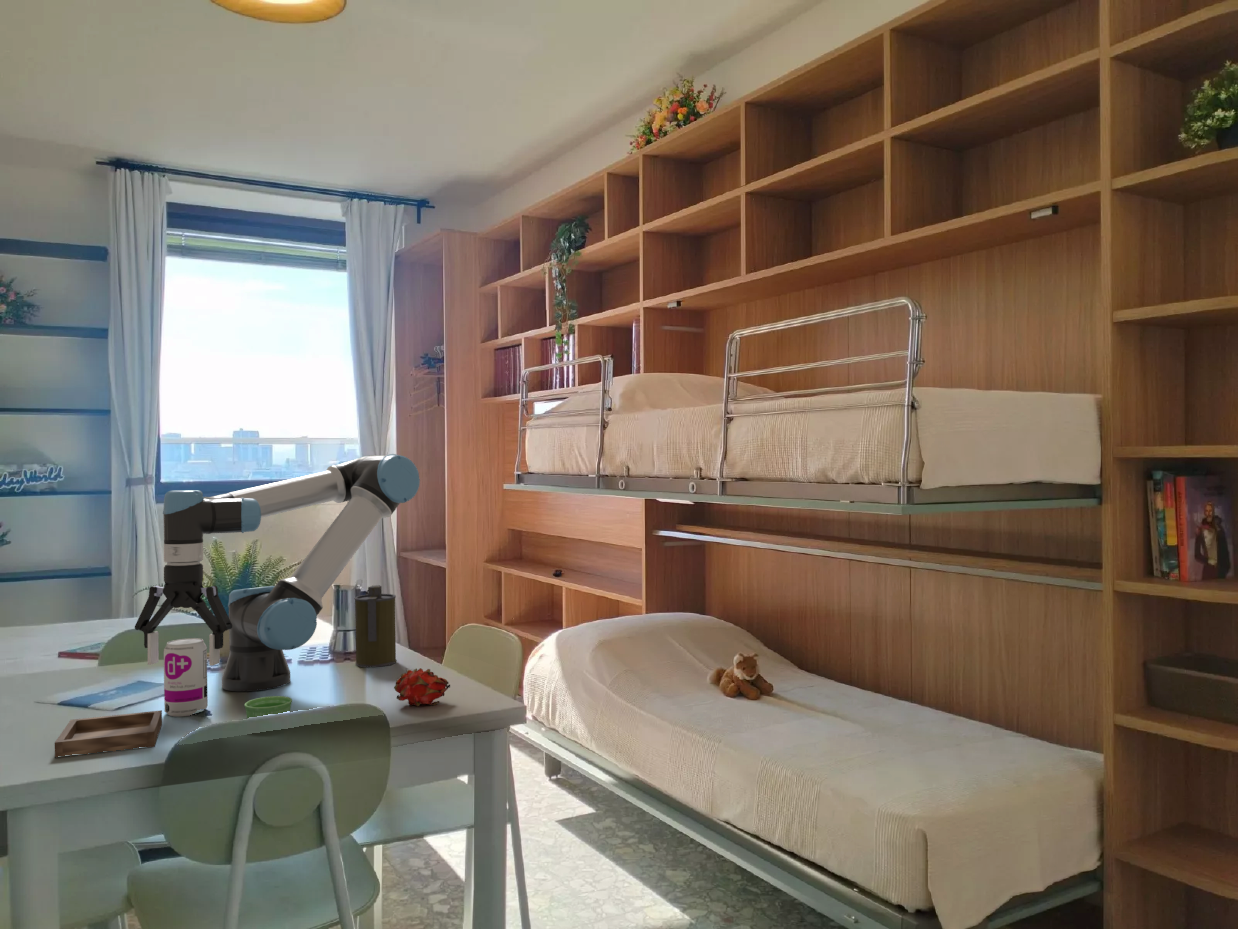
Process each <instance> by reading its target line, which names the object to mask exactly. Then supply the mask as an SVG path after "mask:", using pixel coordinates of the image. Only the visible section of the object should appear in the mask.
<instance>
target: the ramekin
mask: <svg viewBox="0 0 1238 929" xmlns="http://www.w3.org/2000/svg"><path fill="white" fill-rule="evenodd" d="M292 703H293V700H292V698H291V697H288V696H286V695H285V696H284V695H283V696H282V695H271V696H263V697H258V698H254V699H250V700H248V701H247V702H245V703H244V709H245V714H246V719H247V718H249V717H257V716H263V715H268V714H278V713H283V712H287V711H290V712H291V708H292Z"/></svg>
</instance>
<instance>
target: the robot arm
mask: <svg viewBox="0 0 1238 929" xmlns="http://www.w3.org/2000/svg"><path fill="white" fill-rule="evenodd" d="M419 474H420V472H419V470H418V468H417V466H416V465H415V463H414V462H413V461H412V460H411V459H410V458H409V457H407V456H404V455H400V454H396V453H389V454H386V455H385V454H382V455H381V454H375V455H374V454H371V455H364V456H360V457H358V458H355V459H351V460H349V461H344V462H341V463H339V464H334V465H330V466H328V467H327V469H326V470H325V471H321V472H316V473H312V474H308V475H307V474H306V475H303V476H299V477H294V478H289V479H285V480H281V481H276V482H272V483H271V482H270V483H268V484H262V485H258V486H254V487H248V488H244V489H240V490H236V491H235V490H234V491H230V492H227V493H222V494H218V495H212V496H204V494H203V491H202V490H194V489H193V490H192V489H191V490H188V489H187V490H169V491H167V492H166V493H165V494H164V498H163V510H162V514H163V562H164V563H166V565H164V566H163V582H164V586H161V585H160V584H159V585H153V586H150V587H149V591H148V598H147V600H146V602H145V604H144V606H143V608H142V610H141V613H140V615H139V616H138V619H137V621H136V623H135V625H134V629H135V630H136V631H140V632H142V633H143V635H144V636H143V639H144V640H143V645H144V648H145V649H147V665H149V666H151V665H155V664H156V663H159V658H160V656H159V651H160V650H159V641H160V640H159V633H160V632H159V631H157V627H158V626H159V625H160V624H161V623H162V621H163V620H164V619H165V618H166V617H167V616H168V614H169V613H170V612H171V610H172V609H173V608H174V609H178V608H183V609H190V608H191V609H193V611H195V612H196V613H197V614H198V615H199V617H200V618H201V620H202V621H203V622H204V623H205V624H206V625H207V626H208V628H209V630H211V632H212V633H209V638H208V639H209V640H208V643H209V644H208V645H209V647H208V648H209V654H208V655H209V656H208V657H209V658H208V660H209V662H208V663H209V666H215V665H218V664H220V663H221V662H220V660H221V659H220V658H221V656H220V655H221V654H220V652H221V650H220V649H222V648H223V647H224V633H225V632H226V631H229V632H228V635H229V638H228V639H229V640H228V641H229V654H228V655H229V656H228V658H227V661H226V663H225V664H226V665H225V668H224V670H223V674H222V677H221V689H223V690H225V691H229V692H256V691H257V692H258V691H265V690H271V689H276V688H279V687H283V686H285V685H287V683H288V684H289V683H290V682H291V670H290V666H289V665H288V661H287V658H286V656H285V652H284V651H290V650H294V649H298V648H300V647H302V646H303V645H305V644H306V643H307V642H308V641H309V640H311V638H312V637H313V636H314V634H315V631H316V629H317V625H318V622H317V621H318V620H317V619H318V615H319V614H320V612H321V611H322V610H323V607H324V606H323V602H322V599H323V597H324V596H325V594H327V592H328V591H329V589H330V588H331V586H332V585H333V583H334V582H335V581H336V580H337V578H338V577H339V576H340V574H341V573H342V572H343V570H344V569H345V568H346V566H347V565H348V563H349V562H350V561H351V559H352V558H353V557H354V555H356V553H357V551H358V550H359V549H360V547H361V546H362V545H363V543H364V542H365V541H366V539H367V538H368V536H369V535H370V534H371V532H372V531H373V530H374V528H375V527H376V526H377V524H378V523H380V520H381V519H384V518H389V517H390V518H391V516H392V515H393V513H394V512H395V511H396V510H397V508H398V507H399V505H400V504H404V503H407V502H409V501H410V500H412V499H413V498H414V497H415V496H416V495H417V493H418V491H419V487H420V484H421V483H420V482H421V480H420V475H419ZM332 501H333V502H335V503H336V504H341V503H344V502H345V503H346V502H347V503H346V505H344V507H343V508H342V510H341V511H340V512H339V513H338V515H337V516H336V518H335V519H334V520H333V521H332V522H331V524H330V526H329V527H328V528H327V529H326V530H325V532H324V533H323V535H322V536H321V537H320V539H319V540H318V541H317V543H316V544H315V545H314V546H313V548H312V549H311V550H310V551H309V553H308V554H307V555H306V556H305V558H304V559H303V561H301V563H300V564H299V566H298V567H297V568H296V569H295V571H294V572H293V573H292V574H291V576H290V577H287V578H281V579H279V580H278V582H277V583H276V585H269V586H259V587H252V588H251V587H249V588H242V589H241V588H240V589H234V590H232V591H231V592H230V593H229V595H228V603H227V607H228V614H227V611H226V608H225V606H224V605H223V603H222V601H221V597H219V590H218V587H217V585H211V586H207V587H204V586H203V582H204V565H203V564H202V563H201V562H202V561H203V560H204V535H211V534H231V533H232V534H234V533H241V534H244V533H247V532H248V533H249V532H255V531H257V529H258V528H259V527H260V525H261V521H262V518H266V517H270V516H274V515H280V514H284V513H287V512H291V511H292V512H293V511H295V510H299V509H303V508H308V507H311V506H316V505H320V504H324V503H328V502H332ZM162 596H164V597H165V598H166V599H165V600H164V601H163V602H162V604H161V605H160V608H158V610H156V607H157V606H158V604H159V602H160V599H161V597H162ZM202 596H204V597H205V598H206V599H207V602H208V603H209V606H210V609H211V610H210V609H209V607H208V606H207V603H206V602H205V600H204V599H203V597H202ZM155 610H156V612H155ZM154 613H155V614H154ZM153 614H154V615H153Z"/></svg>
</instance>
